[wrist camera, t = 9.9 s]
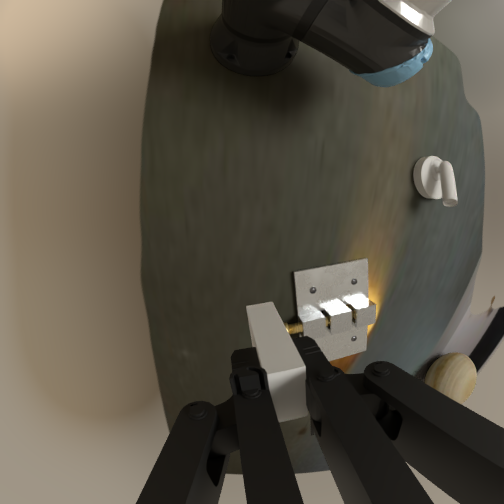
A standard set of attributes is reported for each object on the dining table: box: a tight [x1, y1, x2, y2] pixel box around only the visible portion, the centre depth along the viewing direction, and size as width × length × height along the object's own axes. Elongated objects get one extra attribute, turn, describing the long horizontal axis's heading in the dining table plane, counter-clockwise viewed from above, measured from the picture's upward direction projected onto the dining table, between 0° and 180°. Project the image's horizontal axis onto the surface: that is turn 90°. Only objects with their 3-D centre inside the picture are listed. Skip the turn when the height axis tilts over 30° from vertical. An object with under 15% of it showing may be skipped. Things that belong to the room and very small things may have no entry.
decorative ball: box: [424, 353, 477, 404], centre depth 49 cm, size 15×15×15 cm
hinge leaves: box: [293, 258, 376, 361], centre depth 47 cm, size 20×14×4 cm
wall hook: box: [413, 156, 458, 207], centre depth 42 cm, size 9×10×10 cm
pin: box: [284, 310, 355, 335], centre depth 47 cm, size 3×16×3 cm, turn 98°
